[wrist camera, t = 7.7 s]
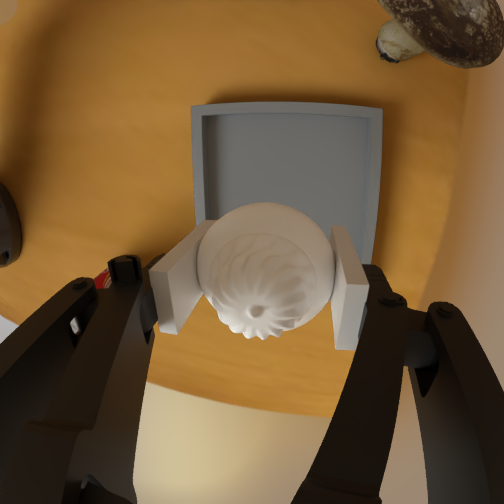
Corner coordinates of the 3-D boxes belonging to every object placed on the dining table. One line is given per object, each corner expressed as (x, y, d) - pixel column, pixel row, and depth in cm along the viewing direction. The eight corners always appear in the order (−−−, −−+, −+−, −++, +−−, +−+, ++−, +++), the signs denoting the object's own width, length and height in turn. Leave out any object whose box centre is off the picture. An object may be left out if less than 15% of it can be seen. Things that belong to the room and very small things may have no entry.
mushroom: (444, 83, 21) (537, 59, 7) (373, 100, 23) (440, 69, 10) (406, 4, 18) (464, -64, 5) (333, 18, 21) (352, -69, 7)
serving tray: (207, 274, 33) (201, 285, 31) (200, 108, 26) (191, 106, 24) (361, 283, 30) (365, 295, 28) (375, 111, 24) (382, 108, 21)
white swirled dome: (349, 220, 15) (381, 281, 9) (298, 309, 17) (292, 398, 11) (242, 169, 15) (196, 194, 9) (203, 266, 17) (151, 338, 11)
